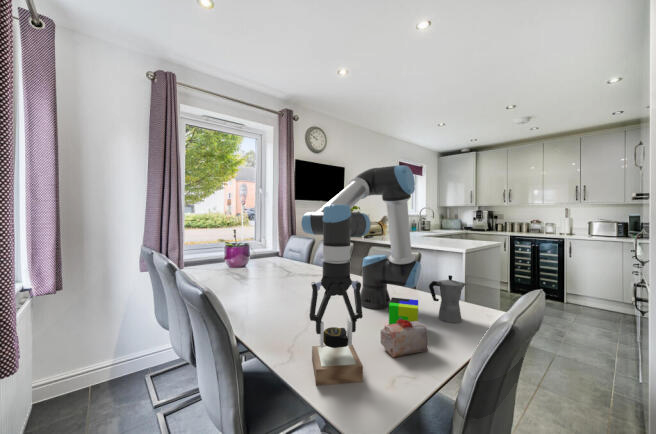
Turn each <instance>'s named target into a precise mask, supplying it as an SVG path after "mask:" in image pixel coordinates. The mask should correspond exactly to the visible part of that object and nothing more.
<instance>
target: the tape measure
mask: <svg viewBox="0 0 656 434" xmlns="http://www.w3.org/2000/svg"><path fill="white" fill-rule="evenodd" d="M324 345H326V346H328V347H331V348H340V347H346V346H347V345H348V338H347V329H346V328H345V327H335V326H334V327H332V326H331V327H327V328H324Z"/></svg>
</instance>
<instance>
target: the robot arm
mask: <svg viewBox="0 0 656 434" xmlns="http://www.w3.org/2000/svg"><path fill="white" fill-rule="evenodd" d="M415 186H416V182H415V176H414V173H413V171H412V169H411V168H410V167H409V166H408V165H391V166H390V165H389V166H382V167H373V168H368V169H367V170H365V171H362V172H361V173H358V174H357V175H356V176H354V177H353V178H352V179H351V180H350V181H349V182H348V184H347V186H346V187H345V188H343V189H342V190H341V191H339V193H337V194H336V195H335V196H334V197H332V198H331V199H330V200H329V201H328V202H326V203H325V204H324V205H323V206H322V207H320V208H319V209H318V210H317V211H310V212H306V213H305V214H303V216H302V218H301V221H300V222H301V224H300V226H301V228H302V231H303V232H304V233H305V234H308V235H314V236H322V239H323V242H322V260H324V261H323V262H322V278H321V279H320V281H316V282H315V281H311V284H310V285H311V288H312V293H311V299H310V300H311V301H310V307H309V315H308V317H309V319H310V322H315V333H316V335H319V346H320V347H321V348H323V347H324V345H325V344H324V330H325V328H324V326H325V325H324V320H323V317H324V314H325V312H326V309H327V306H328V304H329V301H330V300H331V298H332V297H333V296H334V297H335V296H339V297H340V296H341V297H342V298H343V301H344V304H345V306H346V309H347V312H348V315H349V317H350V318H349V317H347V319H346V320H347V326H346V327H347V328H346V331H347V332H346V333H347V334H346V335H347V338H348V344H349V346H352V345H353V333H356V330H357V329H356V328H357V325H356V323H357V321H358V320H359V319H361V320H362V318H363V307H364V308H367V309H374V310H375V309H376V310H379V309H388V308H389V304H390V301H391V297H390V293H389V291H388V290H389V289H388V285H389V286H390V285H391V286H397V287H404V288H411V289H412V288H415V287H416V286H417V285H418V283H419V280H420V276H421V269H422V267H421V266H422V264H421V262H420V261H417V260H416V256H415V254H413V253H412V244H411V233H410V231H411V229H410V217H409V207H408V204H409V203H408V201H409V200H410V199H411V197H412V194H414V193H415V190H416V187H415ZM369 196H381V198H382V201H383V202H384V203H385V204H386V212H387V223H388V233H389V242H390V251H391V254H390V255H389V257H388V255H386V254H375V255H369V256H368V255H367V256H365V257H363V259H362V265H361V267H362V282H361V281H359V280H352V278H351V263H350V260H351V238H360V237H363V236H365V235H367V234H368V233H369V232H370V230H371V227H372V226H371V225H372V224H371V220H370V217H369V216H368V215H367V214H365V213H364V212H360V211H357V212H356V211H355V212H354V211H352V208H353V207H355V205H357V203H359V201H361V200H363V199H366V198H367V197H369ZM321 287H322V288H323V289H324V290H325V291H324V293H323V297H322V300H321V302H320V305H319V307H318V310H317V302H318V295H319V291H320V289H321ZM350 287H351V288H352V289H353V298H354V305H355V311H354V309H353V306H352V303H351V301H350V298H349V294H348V292H347V291H348V289H349V288H350ZM316 310H317V313H316Z"/></svg>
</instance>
